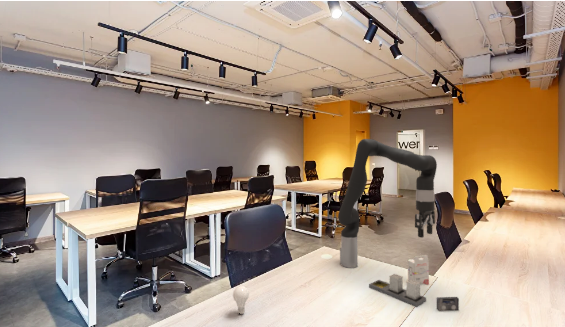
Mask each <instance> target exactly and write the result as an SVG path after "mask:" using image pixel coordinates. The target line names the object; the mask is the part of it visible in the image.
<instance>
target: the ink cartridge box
mask: <svg viewBox="0 0 565 327" xmlns="http://www.w3.org/2000/svg"><path fill="white" fill-rule="evenodd" d="M429 265H430V263H429V255H428V254H424V255H416V256H414V257H413V258H411V259H407V282H408V281H409V280H414V281H417V282H420V285H427V286H428V285H430V277H429V276H430V274H429V273H430V272H429V271H430V266H429Z"/></svg>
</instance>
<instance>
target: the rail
mask: <svg viewBox="0 0 565 327" xmlns="http://www.w3.org/2000/svg"><path fill="white" fill-rule="evenodd" d="M368 288H370V289H372V290H374V291H377V292H379V293H381V294H384V295H385V296H388V297H391V298H393V299H396V300H399V301H401V302H403V303H405V304H408V305H410V306H412V307H415V308H418V307H420V306H422V305H423V304H424V303H426V302H427V297H426V296H424V295H420V300H419V301H417V302H415V301H413V300H410V299H408V298H406V288H403V292H402V293H401V294H399V295H398V294H395V293H393V292H390V283H389V282H386V281H383V280H381V279H377V280H375V281H374V282H371V283H369V284H368Z"/></svg>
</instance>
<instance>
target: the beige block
mask: <svg viewBox="0 0 565 327" xmlns="http://www.w3.org/2000/svg"><path fill="white" fill-rule="evenodd" d="M388 280H389V282H388V283H389V284H390V292H393V293H395V294H398V295H399V294H401V293H402V292H403V289H404V288H403V287H404V286H403V276H402V275H398V274H396V273H393V274H391V275H389V279H388Z"/></svg>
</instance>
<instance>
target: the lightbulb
mask: <svg viewBox="0 0 565 327" xmlns="http://www.w3.org/2000/svg"><path fill="white" fill-rule="evenodd" d="M249 296H250V292H249V289H248V288H247V287H246V286H244V285H238V286H237V287H236V288H234V290H233V293H232V298H233V300H234V301H235V303H236V306H237V314H239V313H240V314H239V315H243V314H244V313H245V306H246V302H248V299H249Z"/></svg>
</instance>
